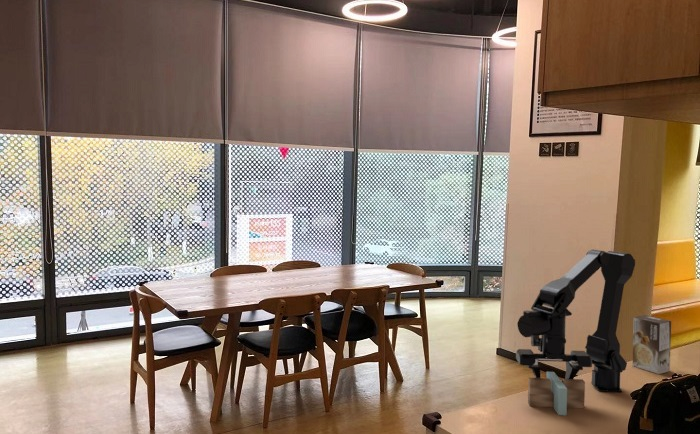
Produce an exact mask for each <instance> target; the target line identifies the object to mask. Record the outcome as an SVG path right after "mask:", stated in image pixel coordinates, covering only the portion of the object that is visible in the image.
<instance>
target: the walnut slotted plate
mask: <svg viewBox="0 0 700 434" xmlns="http://www.w3.org/2000/svg"><path fill="white" fill-rule="evenodd" d="M527 379H528V382H527V385H528V388H527V404H528V406H529V407H548V408H554V394H553V392H551V380H550V379H549V378H546V377H541V378H535V377H528V378H527ZM561 381H562V383H563V384H564V385H565V387H566V388H567V408H569V409H570V408H571V409H572V408H573V409H574V408H575V409H585V398H586V395H585V394H586V393H585V392H586V382H585V380H583V379H582V378H581V379H578V378H574V379H565V378H561Z"/></svg>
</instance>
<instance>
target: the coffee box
mask: <svg viewBox="0 0 700 434" xmlns="http://www.w3.org/2000/svg"><path fill="white" fill-rule="evenodd" d="M632 327H633V329H632V330H633V331H632V332H633V334H632V367H635V368H638V369H642V370H645V371H647V372H650V373H654V374H657V375H662V374H664V373H667V372H670V371H671V341H672V340H671V338H672V320H668V319H664V318H660V317H659V318H658V317H656V316H652V315H648V314H647V315H646V314H643V315H637V316H634V317H633V326H632Z"/></svg>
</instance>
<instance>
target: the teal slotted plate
mask: <svg viewBox="0 0 700 434" xmlns="http://www.w3.org/2000/svg"><path fill="white" fill-rule="evenodd" d="M545 378H549V379H550V380H551V392H553V394H554V407H553V409H554V410H555V413H557V415H558V416H567V411H568V410H567V388H566V387H565V385H564V384H563V383H562V379H560V377H559V376H558V375H557V374H556V372H554V371H546V377H545Z"/></svg>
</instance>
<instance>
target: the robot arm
mask: <svg viewBox="0 0 700 434" xmlns="http://www.w3.org/2000/svg"><path fill="white" fill-rule="evenodd" d="M635 267H636V260H635V259H634V256H633V255H632V254H630V253H629V252H627V253H626V252H619V251H613V250H608V251H605V250H598V249H590V250H588V251H587V252H586V255H585V256H584V257H582V259H580V260H579V261H578V262H577V263H576V264H575V265H573V267H572V268H571V269H569V270H568V271H567V272H566V273H565V274H564V275H563V276H561V277H560V278H558V279H555V280H552V281H550V282H548V283H547V284H545V285H544V286H542V287H541V288H540V289H539V293H538V294H537V296H536V299H535V300H534V302H533V304H532V305H531V307H530V310H523V312H522V313H523V314H522V315H521V316H520V317H519V318H518V321H517V330H518V332H519V334H520V335H522V336H523V337H524V338H530V344H531V347H535V348H536V347H537V350H538V351H539V352H540V353H534V352H533V350H532V349H529V348H527V349H525V348H519V349H517V350H516V352H515V359H516V360H517V362H518V364H519V365H520V366H527V368H528V369H531V370H532V373H533V378H542V377H541V366H540V365H539V362H561V363H562V362H564V363H565V368H566V370H565V378H564V379H575V377H576V376H577V375H578V373H579V371H583V370H584V368H592V367H593V369H592V370H591V381H590V382H591V384H592V385H593V387H594V388H595V389H596V390H597V391H598V392H612V393H613V392H616V393H617V392H619V393H622V392H623V389H622V388H621V373H623V371H625V370H626V369H627V364H628V363H627V361H626V359H624V357H623V356H622V355H621V354H620V353H621V344H620V341H619V339H618V335H617V328H618V325H619V324H618V323H619V316H620V312H621V306H622V299H623V295H624V287H625V285H626V283H627V282H628V281H629V280H630V279H631V278H632V277H633V273H634V270H635ZM599 269H600V271H601V274H602V277H603V278H604V279H603V280H604V285H603V291H602V297H601V298H602V299H601V304H600V309H599V315H598V319H597V320H598V321H597V327H596V330H595V331H594V332H593V334H592V335H591V334H588V335H587V337H586V345H585V347H584V349H585V350H571V351H570V354H568V353H567V354H566V353H565V352H566V350H565V349H566V344H567V339H566V319H567V318H566V317H569V316H572V314H573V313H572V312H571V311H570V310H569V309H568V308H569V306H570V305H571V303H572V302H573V301H574V300H575V299H576V298H575V297H576V292H577V291H578V289H580V288H581V287H582V286H583V284H585V283H586V282H587V281H588V280H589V279H590V278H591V277H592V276H593V275H594V274H595V273H596V272H598V271H599ZM540 336H541V337H540Z"/></svg>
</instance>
